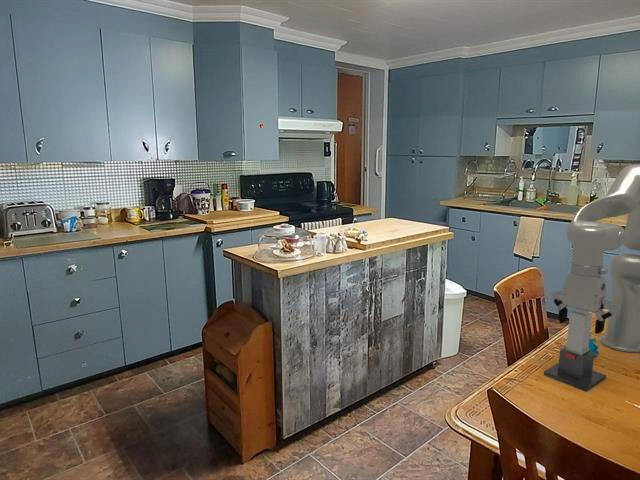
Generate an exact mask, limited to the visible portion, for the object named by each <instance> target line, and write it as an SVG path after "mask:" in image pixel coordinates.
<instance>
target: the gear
mask: <svg viewBox="0 0 640 480" xmlns="http://www.w3.org/2000/svg"><path fill="white" fill-rule="evenodd" d="M591 337H592V334H591V333H590V340H589V350H590V351H594V358H595V357H598V355H599V354H600V351H599V349H600V346H599V345H598V344H597V340H598V339H597V338H596V337H593V338H591Z"/></svg>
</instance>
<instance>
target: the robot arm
mask: <svg viewBox="0 0 640 480" xmlns="http://www.w3.org/2000/svg"><path fill="white" fill-rule="evenodd" d="M605 194H606V195H604V196H601V197H598V198H596V199H594V200H592V201H590V202H589V203H586V204H585V205H583V206H582V207H580V208H579V209H578V211H577V212H576V213H575V215H574V217H573V218H572V219H571V221H570V222H569V225H568V227H567V230H566V236H567V237H566V238H567V240H568V242H569V243H570V244H572V249H571V251H572V253H571V260H570V261H571V262H570V270H569V271H567V274H566V277H565V281H564V285H563V289H561V290H557V291H553V292H551V294H550V295H551V298H552V300H553V303H554V304H555V306H556V307H557V309H558V317H557V318H558V321H559V324H564V323H566V322H567V321H568V307H569V308H570V307H571V308H574V309H579V310H583V311H586V312H590V313H593V314H594V316H595V317H596V318H597V319H595V326H594V335H595V334H596V335H599V334H601V333H602V332H603V331H604V330H605V323H606V320H607V325H606V333H605V334H603V335H600V338H599V341H600V343H601V344H602V345H603V346H606V347H608V348H610V349H614V350H617V351H620V352H625V353H639V352H640V254H634V253H620V254H618V255H615V256H614V257H613V258H612V260H611V263H610V273H611V274H610V276H611V277H610V278H611V290H610V291H611V292H610V299H609V300H608V299H607V286H606V283H607V282H606V277H605V276H604V275H608V268H607V269H606V268H604V265H603V264H604V263H603V262H604V255H605V254H604V253H605V251H615V250H617V249H619V248H621V247H622V246H624V247H625V248H626V249H628V250H631V251H637V252H640V163H639V164H629V165H627V166H625V167H623V168H622V169H621V170H620V172H619V173H618V175H617V176H616V178H615V180H613V183H612V185H611V186H610V188H609V189H608V191H607V193H605ZM624 215H627V220H626V224H625V228H623V227H622V226H621V225H619V224H617V223H609V222H601V221H600V220H604V219H609V218H610V219H611V218H616V217H619V216H624ZM560 296H561V299H560V298H559V297H560ZM606 308H607V309H608V311H607V312H605V311H604V309H606Z"/></svg>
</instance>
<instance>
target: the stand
mask: <svg viewBox="0 0 640 480" xmlns="http://www.w3.org/2000/svg"><path fill="white" fill-rule="evenodd" d="M558 356H559V357H558V363H556V364H554V365H552V366H551V367H549V368H546V370H544V371H543V376H545V377H547V378H549V379H550V378H551V379H553V380H556V381H558V382H560V383H563V384H566V385H568V386H569V387H574V388H576V389H577V390H581V391H584V392H586V393H587V392H589V391H590V390H591V389H593V388H596V386H597V385H599V384H600V383H602V382H604V381H605V380H606V379H607V375H606V374H604V373H601V372H598V371H596V370H593V367H594V360H595V357H594V351H590V350H589V352H588V353H587V354H585V355H583V356H580V355H577V354H574V353H571V352H568V351H566V346H565V347H563V348H560V349H559V354H558Z"/></svg>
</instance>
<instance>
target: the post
mask: <svg viewBox="0 0 640 480" xmlns="http://www.w3.org/2000/svg"><path fill="white" fill-rule="evenodd" d="M568 319H569V320H568V329H567V339H566V346H565V347H566V351H568V352H571V353H574V354H577V355H580V356H583V355H585V354H587V353H588V352H589V340H590V338H591V337H590V334H591V329H592V321H593V312H589V311H585V310H581V309H577V308H575V309H573V310H572V311H569V318H568Z"/></svg>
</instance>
